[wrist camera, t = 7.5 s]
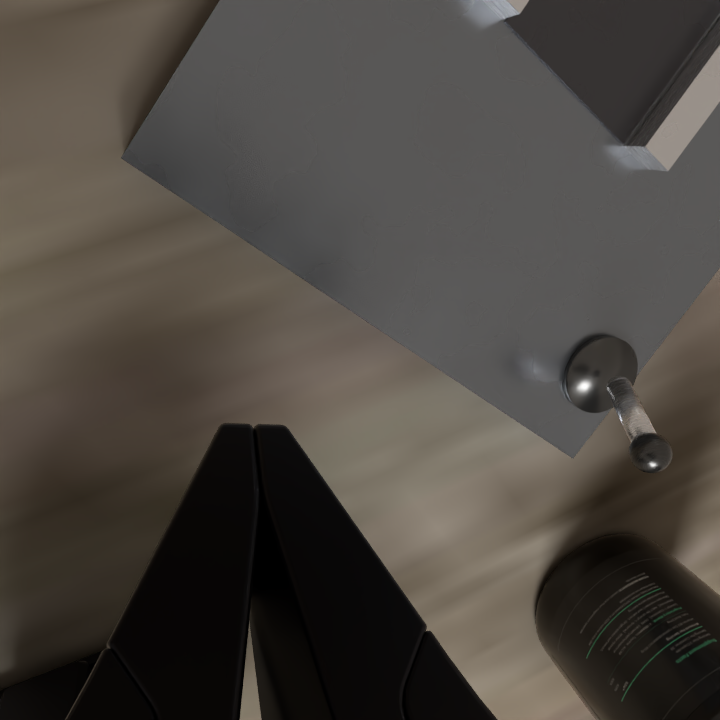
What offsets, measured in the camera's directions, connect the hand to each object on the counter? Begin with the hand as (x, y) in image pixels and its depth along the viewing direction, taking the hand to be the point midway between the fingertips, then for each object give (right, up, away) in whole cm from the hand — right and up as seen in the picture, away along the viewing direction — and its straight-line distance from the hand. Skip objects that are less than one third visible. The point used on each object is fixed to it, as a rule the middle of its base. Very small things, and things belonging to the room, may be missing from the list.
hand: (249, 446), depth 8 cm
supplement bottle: (+12, -9, +21) cm, 25 cm away
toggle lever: (+10, 0, +13) cm, 17 cm away
